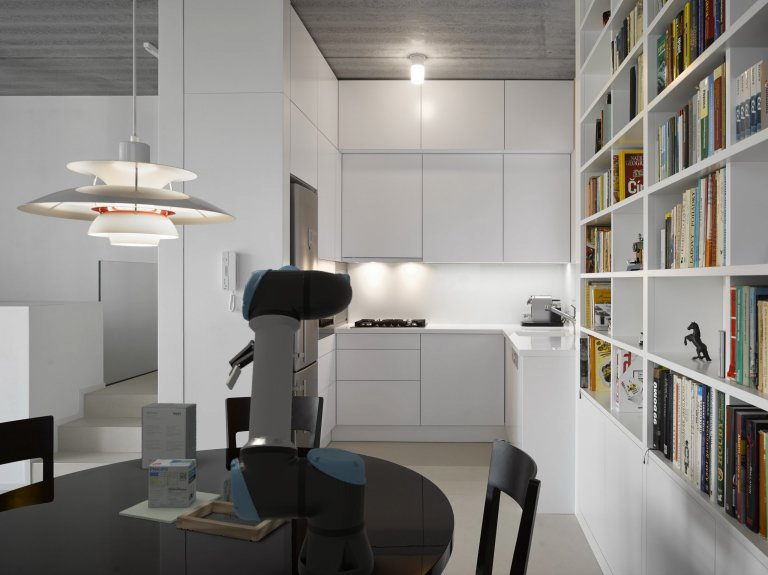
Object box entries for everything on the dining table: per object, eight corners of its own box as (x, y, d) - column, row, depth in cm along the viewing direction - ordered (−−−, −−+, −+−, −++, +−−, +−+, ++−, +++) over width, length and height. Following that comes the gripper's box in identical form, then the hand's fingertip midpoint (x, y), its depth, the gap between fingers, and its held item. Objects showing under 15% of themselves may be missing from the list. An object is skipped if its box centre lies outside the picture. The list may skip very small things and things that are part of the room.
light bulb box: (196, 498, 155) (197, 458, 155) (189, 507, 148) (189, 465, 149) (156, 498, 155) (157, 458, 155) (146, 507, 148) (147, 465, 148)
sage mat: (170, 523, 139) (170, 521, 139) (118, 514, 145) (118, 512, 145) (221, 497, 158) (221, 494, 158) (173, 490, 164) (173, 488, 164)
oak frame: (256, 541, 129) (257, 530, 129) (176, 527, 137) (176, 517, 137) (286, 520, 142) (286, 510, 142) (211, 509, 149) (211, 499, 149)
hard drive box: (197, 464, 189) (197, 403, 189) (185, 471, 181) (186, 407, 182) (153, 462, 191) (153, 402, 192) (140, 469, 184) (140, 406, 184)
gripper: (319, 340, 171) (294, 399, 157) (247, 338, 180) (217, 393, 166) (311, 323, 166) (285, 382, 152) (237, 321, 175) (206, 377, 161)
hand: (249, 388), depth 159 cm, fingers open, 13 cm apart
